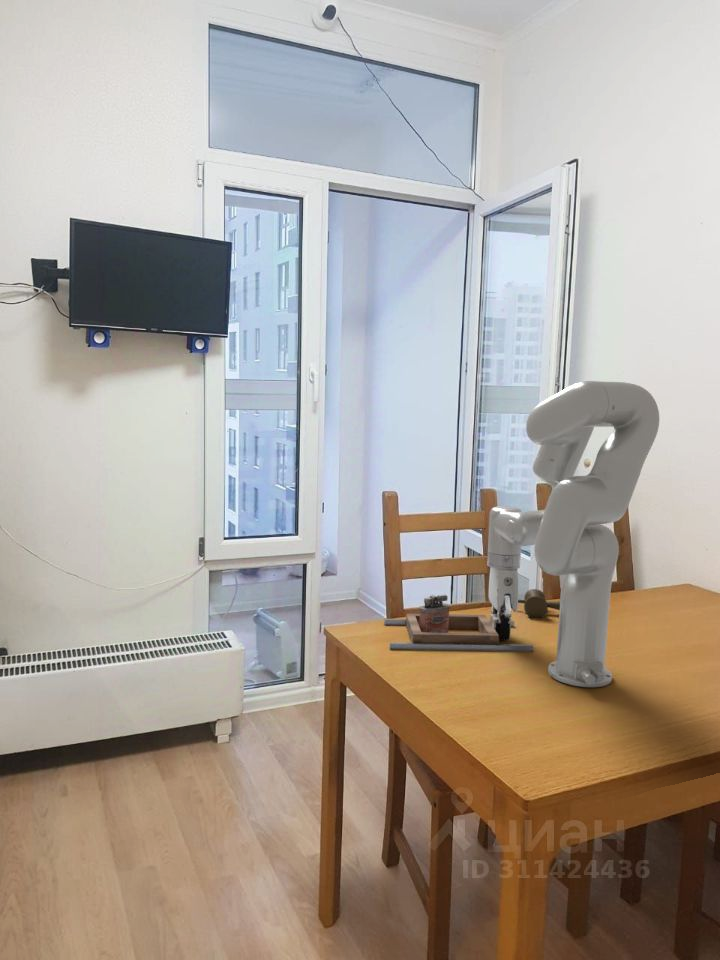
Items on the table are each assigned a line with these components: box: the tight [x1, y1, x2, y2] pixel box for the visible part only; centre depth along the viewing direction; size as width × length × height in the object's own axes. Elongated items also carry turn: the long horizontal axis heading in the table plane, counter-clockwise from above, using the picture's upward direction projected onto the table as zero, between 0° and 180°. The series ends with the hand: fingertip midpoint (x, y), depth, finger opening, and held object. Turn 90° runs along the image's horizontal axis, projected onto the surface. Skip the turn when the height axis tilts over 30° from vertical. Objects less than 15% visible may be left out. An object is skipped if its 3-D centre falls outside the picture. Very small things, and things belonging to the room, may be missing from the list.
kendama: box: [518, 588, 560, 619], centre depth 189 cm, size 6×10×20 cm
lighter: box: [418, 594, 451, 633], centre depth 168 cm, size 8×3×10 cm, turn 118°
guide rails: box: [383, 618, 534, 652], centre depth 168 cm, size 18×32×2 cm, turn 92°
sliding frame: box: [405, 613, 512, 644], centre depth 168 cm, size 15×23×5 cm, turn 92°
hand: (499, 635), depth 169 cm, fingers closed on sliding frame, 4 cm apart
